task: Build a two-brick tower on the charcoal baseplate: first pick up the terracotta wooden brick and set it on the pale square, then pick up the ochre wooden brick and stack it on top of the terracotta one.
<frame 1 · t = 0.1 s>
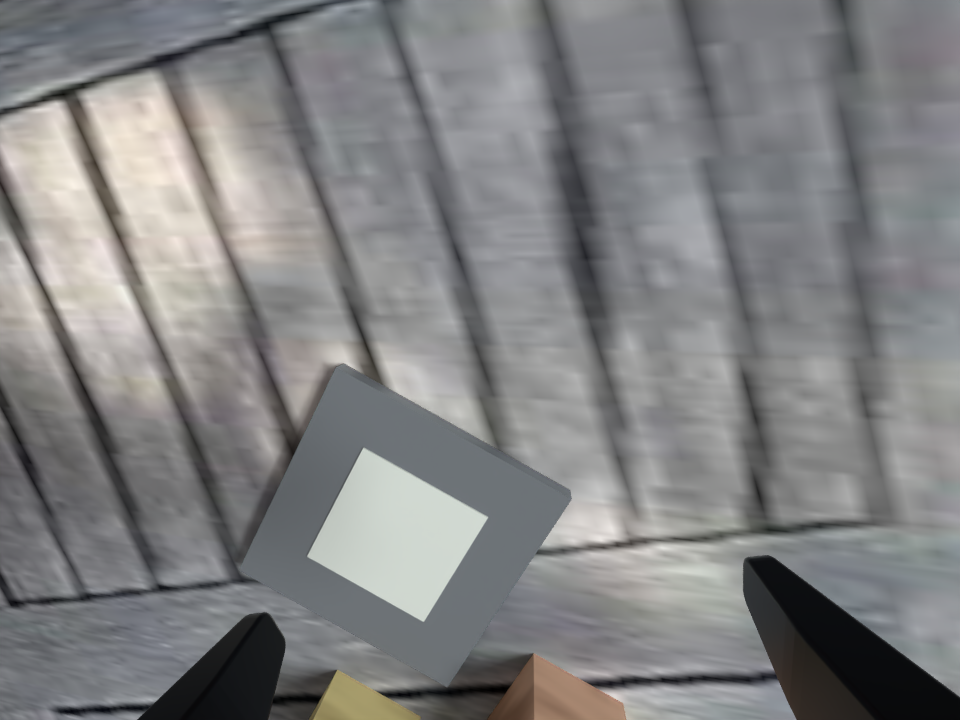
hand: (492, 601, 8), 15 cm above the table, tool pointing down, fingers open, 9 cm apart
terracotta brick: (552, 711, 27), on the table
charcoal baseplate: (400, 526, 26), on the table
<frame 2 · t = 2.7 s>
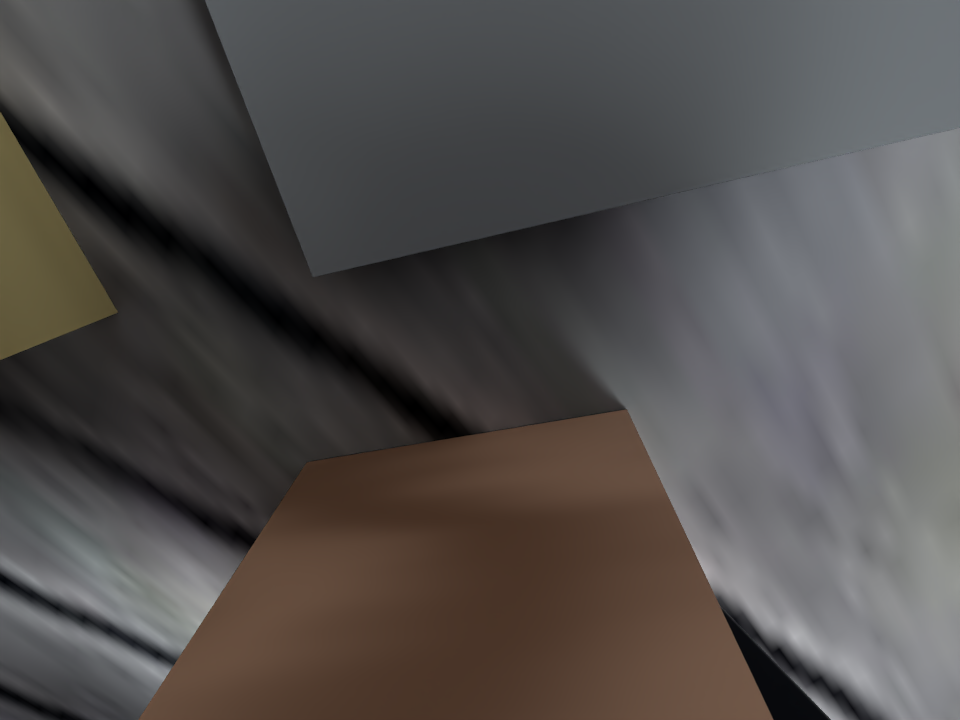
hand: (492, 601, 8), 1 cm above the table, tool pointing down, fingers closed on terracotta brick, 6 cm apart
terracotta brick: (493, 555, 9), on the table, touching gripper
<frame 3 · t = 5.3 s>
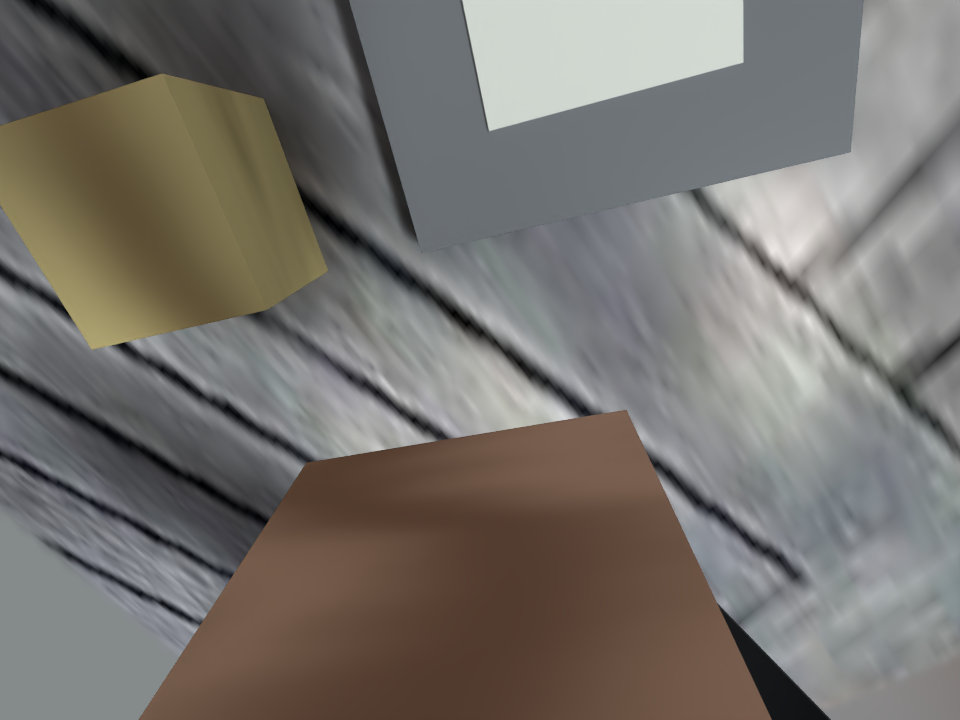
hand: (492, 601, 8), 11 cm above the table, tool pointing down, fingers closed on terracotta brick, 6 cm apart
terracotta brick: (493, 556, 9), point 10 cm above the table, touching gripper
ochre brick: (226, 210, 17), on the table
when the fingers open (3 cm above the table, at t = 8.1 s): terracotta brick drops 1 cm, resting on charcoal baseplate.
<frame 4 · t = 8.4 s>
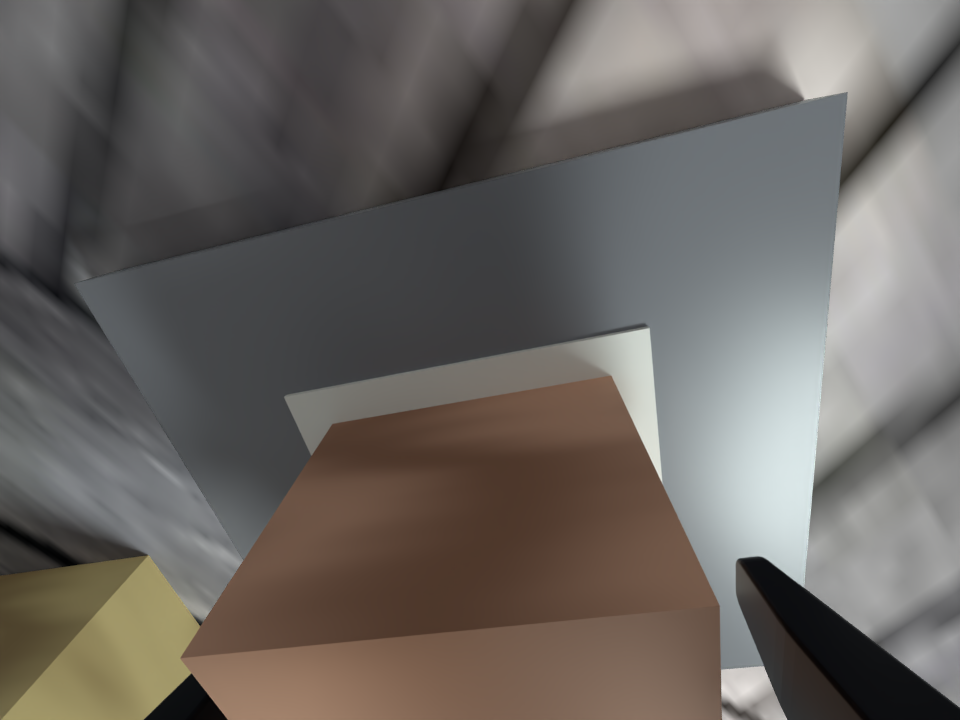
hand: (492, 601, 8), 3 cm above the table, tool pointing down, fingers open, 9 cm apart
terracotta brick: (495, 509, 10), point 1 cm above the table, touching charcoal baseplate
charcoal baseplate: (496, 477, 11), on the table
ochre brick: (120, 625, 15), on the table
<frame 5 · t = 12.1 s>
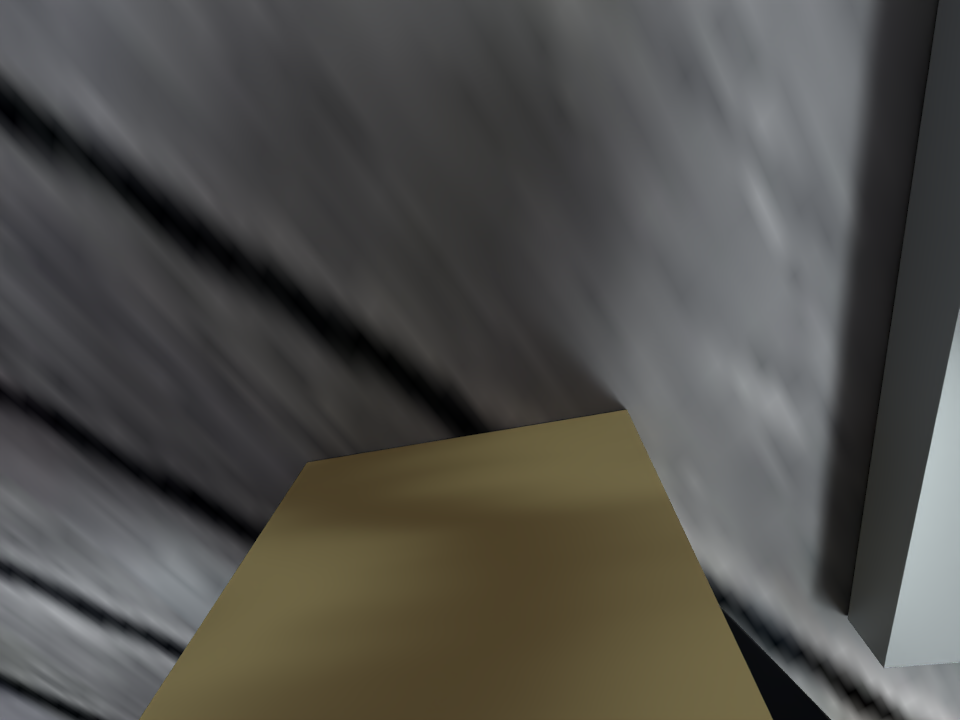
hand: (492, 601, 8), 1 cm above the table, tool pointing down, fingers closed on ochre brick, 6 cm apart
ochre brick: (493, 555, 9), on the table, touching gripper
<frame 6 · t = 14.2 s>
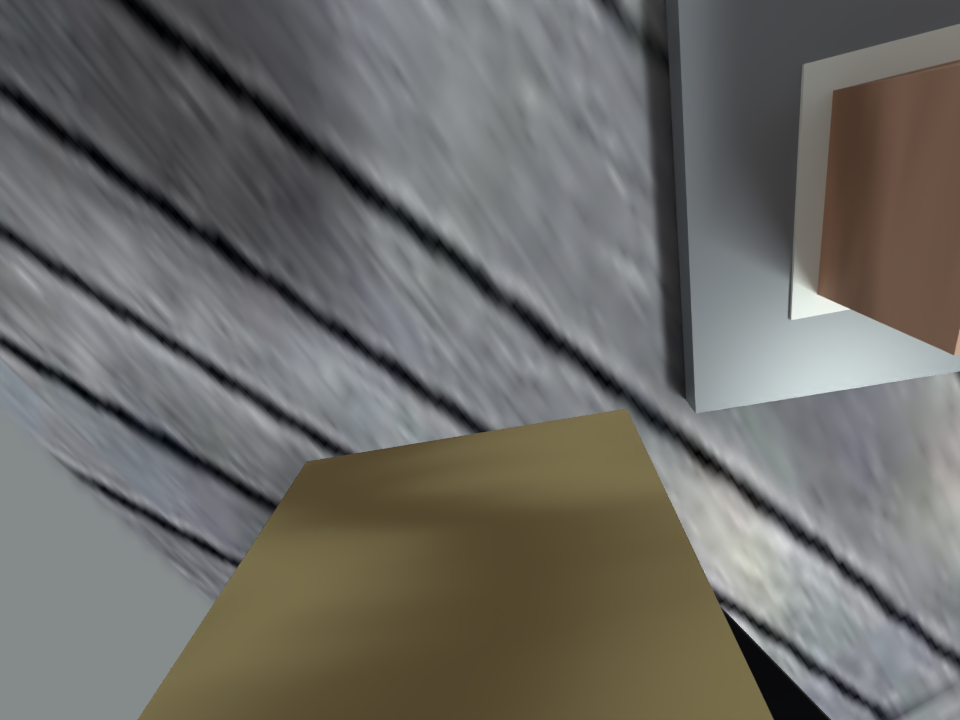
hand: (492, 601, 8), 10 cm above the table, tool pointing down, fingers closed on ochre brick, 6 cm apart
terracotta brick: (934, 177, 13), point 1 cm above the table, touching charcoal baseplate
charcoal baseplate: (904, 174, 14), on the table
ochre brick: (493, 555, 9), point 9 cm above the table, touching gripper
when the fingers open (8 cm above the table, at t = 16.6 s): ochre brick drops 1 cm, resting on terracotta brick.
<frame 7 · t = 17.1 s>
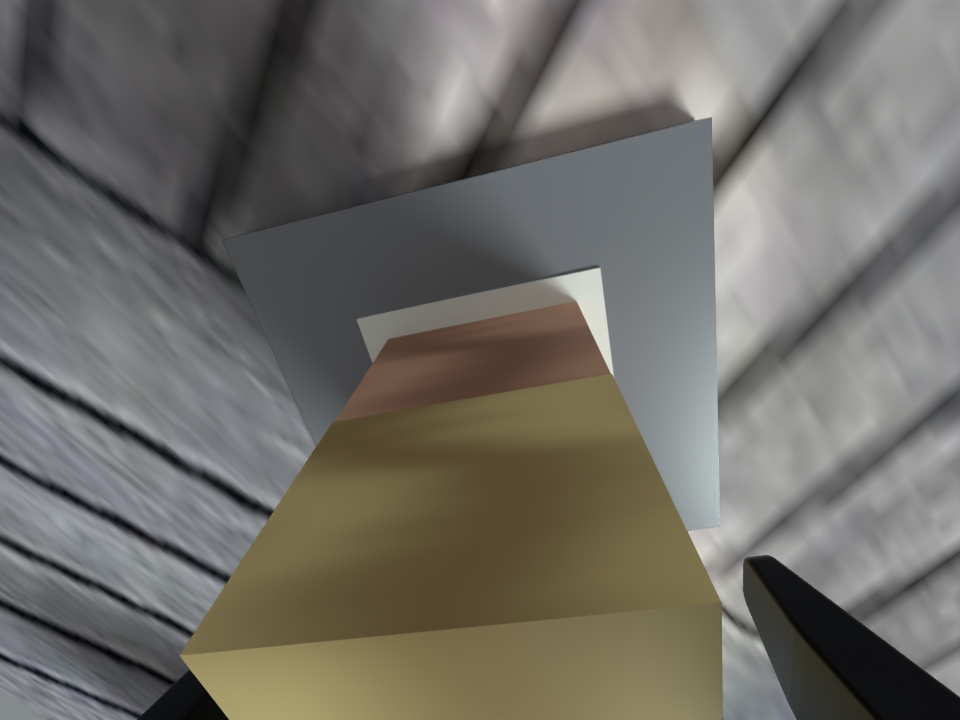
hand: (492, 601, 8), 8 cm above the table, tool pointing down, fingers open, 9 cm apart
terracotta brick: (499, 402, 15), point 1 cm above the table, touching charcoal baseplate, ochre brick
charcoal baseplate: (500, 386, 16), on the table
ochre brick: (495, 508, 10), point 6 cm above the table, touching terracotta brick
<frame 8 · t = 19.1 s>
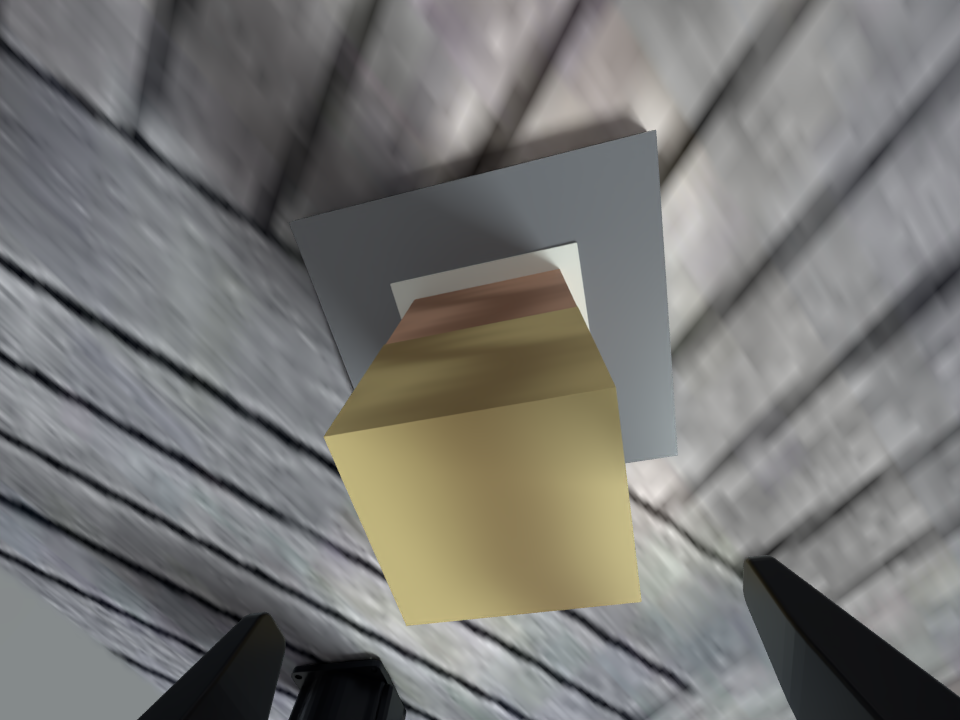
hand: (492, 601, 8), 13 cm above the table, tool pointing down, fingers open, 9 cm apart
terracotta brick: (500, 351, 19), point 1 cm above the table, touching charcoal baseplate, ochre brick
charcoal baseplate: (501, 340, 20), on the table
ochre brick: (498, 410, 15), point 6 cm above the table, touching terracotta brick
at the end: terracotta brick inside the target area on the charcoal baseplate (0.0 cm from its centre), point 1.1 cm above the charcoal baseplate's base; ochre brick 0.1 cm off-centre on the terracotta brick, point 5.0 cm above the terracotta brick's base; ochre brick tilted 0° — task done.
